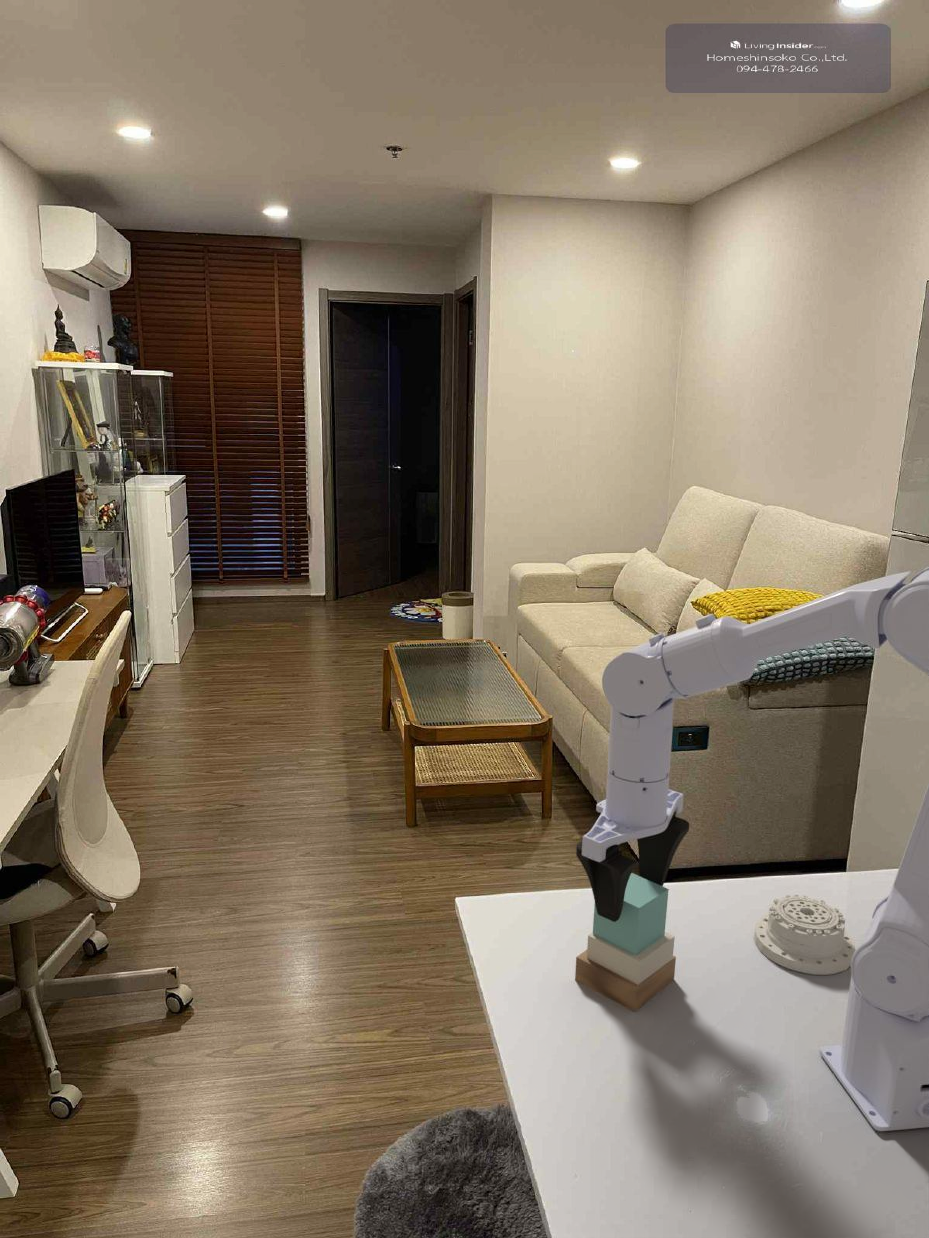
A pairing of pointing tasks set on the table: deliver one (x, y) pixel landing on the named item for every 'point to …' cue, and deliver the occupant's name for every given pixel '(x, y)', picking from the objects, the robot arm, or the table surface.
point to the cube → (636, 917)
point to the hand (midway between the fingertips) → (630, 901)
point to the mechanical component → (805, 936)
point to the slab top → (631, 957)
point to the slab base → (622, 982)
